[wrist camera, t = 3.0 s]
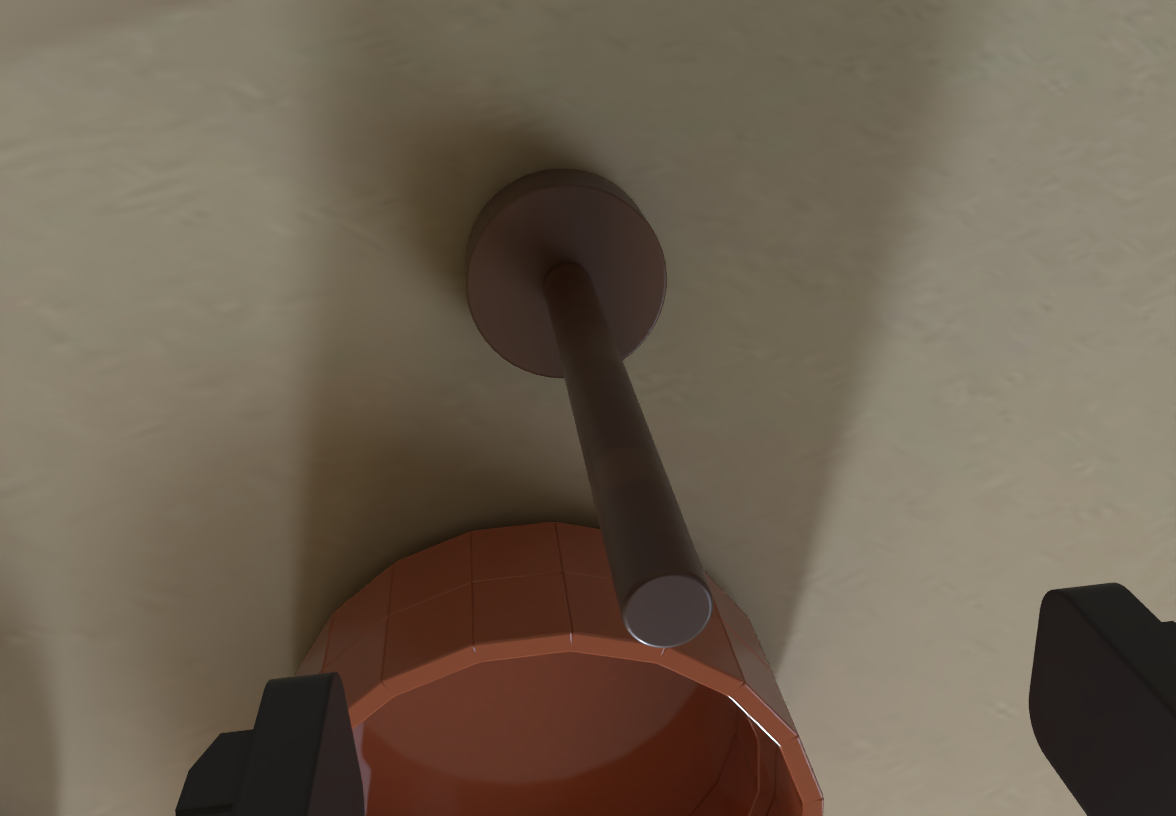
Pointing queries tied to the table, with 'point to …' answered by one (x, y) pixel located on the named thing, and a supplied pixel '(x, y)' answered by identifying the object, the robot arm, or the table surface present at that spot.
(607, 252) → the brown plunger
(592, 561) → the mixing bowl
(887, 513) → the table surface
